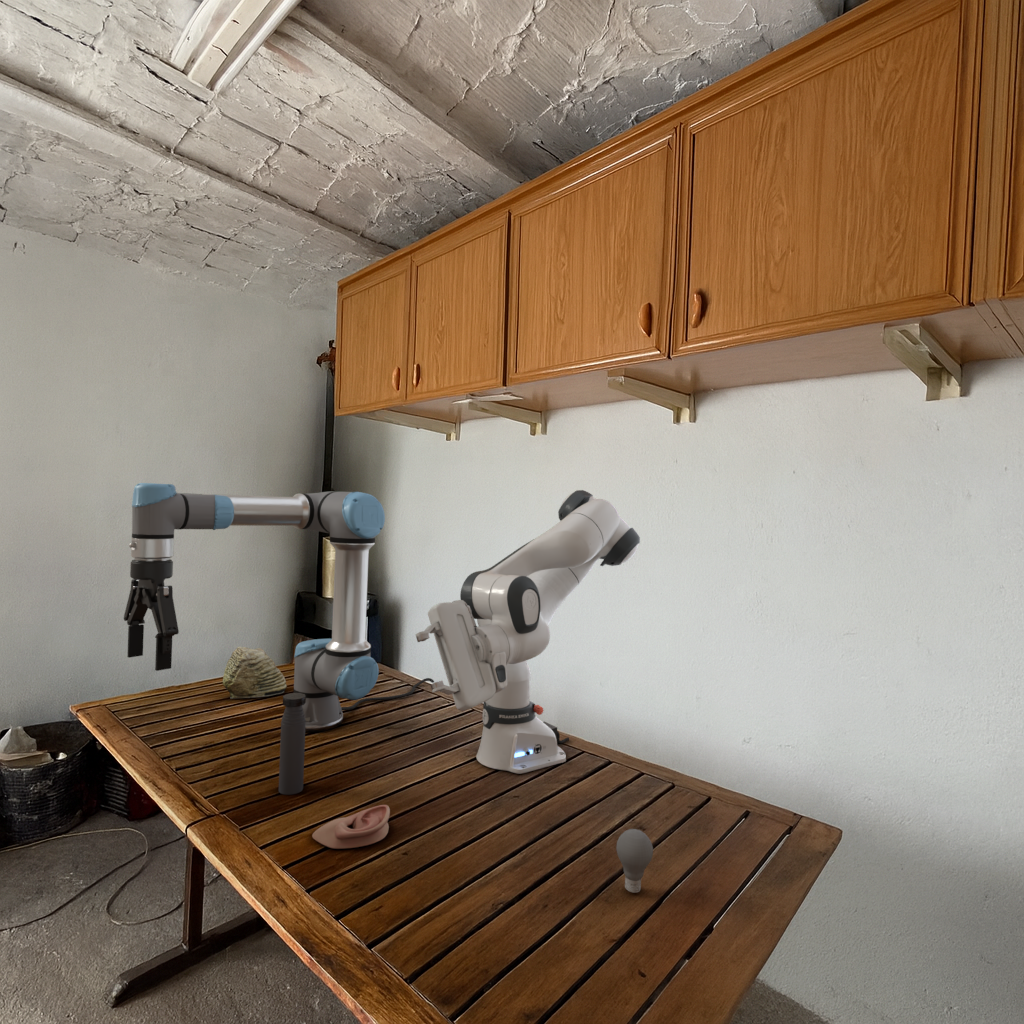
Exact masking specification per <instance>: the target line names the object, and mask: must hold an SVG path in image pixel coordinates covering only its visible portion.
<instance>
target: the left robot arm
mask: <svg viewBox="0 0 1024 1024" xmlns="http://www.w3.org/2000/svg"><path fill="white" fill-rule="evenodd" d="M385 515H386V513H385V511H384V508H383V505H382V503H381V502H380V501H379V500H378V498H377V497H375V495H373V494H370V493H367V492H363V491H362V492H361V491H337V490H336V491H335V490H333V491H332V490H330V491H321V492H311V493H295V494H294V495H293V496H276V495H275V496H274V495H273V496H272V495H248V494H247V495H246V494H244V495H243V494H220V493H219V494H218V493H217V494H216V493H215V494H214V493H189V492H187V493H186V492H177V491H176V486H175V485H174V484H173V483H152V482H139V483H137V484H136V485H135V486H134V488H133V492H132V501H131V520H132V521H131V542H130V543H128V547H129V548H130V549H131V550H130V556H131V558H133V559H132V560H131V561H130V567H129V568H130V571H129V574H130V575H129V576H130V578H131V581H130V590H129V594H128V598H127V603H126V607H125V610H124V615H123V621H124V622H126V624H127V626H128V629H127V630H128V631H127V658H135V657H142V656H144V635H145V634H144V630H145V625H144V624H145V623H146V621H145V619H144V618H145V616H146V615H147V612H148V609H149V610H151V613H152V618H153V620H154V624H155V627H156V631H157V633H156V635H155V636H154V638H155V661H154V663H155V665H154V668H155V669H154V670H155V671H157V672H159V671H164V670H169V669H172V659H173V657H172V655H173V637H175V636H176V635H179V632H180V631H179V625H178V619H177V615H176V614H177V613H176V609H175V603H174V597H173V595H174V593H173V585H165V580H167V579H171V578H172V577H173V575H174V573H173V572H174V561H173V560H172V559H171V558H173V557H174V554H175V553H174V552H175V530H213V531H215V530H224V529H228V528H230V526H233V527H234V526H237V527H238V526H240V527H243V526H246V527H247V526H249V527H250V526H258V527H259V526H268V527H269V526H276V527H277V526H282V527H284V526H285V527H286V526H287V527H288V526H289V527H290V526H291V527H293V528H294V529H296V530H308V531H309V530H310V531H316V532H319V533H325V534H329V544H330V545H331V546H332V547H333V548H334V550H335V551H334V572H333V573H334V577H333V599H332V625H331V626H332V627H331V638H317V639H308V640H304V641H300V642H299V643H297V645H296V646H295V650H294V655H293V657H294V672H293V673H294V674H293V693H302V694H305V695H306V696H305V697H306V703H305V704H304V705H302V708H303V711H304V714H305V720H306V725H305V733H316V732H325V731H329V730H332V729H335V728H337V727H339V726H340V725H342V723H343V722H344V713H343V711H351V710H353V709H355V708H356V707H358V706H359V705H360V704H362V703H366V702H371V701H372V702H374V701H375V702H376V701H390V700H396V699H401V698H406V697H408V696H410V695H412V694H414V693H415V691H416V688H418V687H419V686H420V685H422V684H423V683H426V682H430V683H431V684H433V683H435V680H434V679H433V678H431V677H425V678H423V679H422V680H420V681H419V682H417V683H416V684H414V685H413V686H412V688H411V690H410V691H407V692H405V693H402V694H396V695H389V696H374V697H366V698H364V697H365V696H367V695H368V694H370V692H371V690H372V689H374V687H375V685H376V683H377V682H378V678H379V674H380V672H379V671H380V670H379V669H380V668H379V665H378V663H377V662H376V660H375V659H374V657H371V652H372V649H371V648H372V644H371V643H370V642H368V640H367V639H366V631H367V607H368V606H367V605H368V604H367V602H368V582H369V581H368V579H369V555H370V553H369V552H370V550H371V548H372V547H374V545H375V544H376V536H378V535H379V534H380V533H381V530H383V528H384V526H385V522H386V521H385V520H386V516H385ZM339 698H341V699H342V700H343V699H344V700H348V701H349V700H350V701H355V703H354V704H353V705H351V706H341V702H340V699H339ZM357 700H358V701H357Z"/></svg>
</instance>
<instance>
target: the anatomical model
mask: <svg viewBox="0 0 1024 1024" xmlns="http://www.w3.org/2000/svg"><path fill="white" fill-rule="evenodd" d="M390 816H391V809H390V807H389V805H388V804H380V805H376V806H372V807H368V808H366V809H363V810H361V811H359V812H356V813H353V814H351V815H349V816H346V817H338V818H336V819H333V820H331V821H328V822H326V823H325V824H323V825H322V826H320V827H319V828H317V829H316V830H315V831H314V832H313V833H312V834H311V837H312V839H313V840H315V841H316V842H318V843H319V844H320V845H322V846H325V847H327V848H330V849H334V850H335V849H336V850H341V849H344V850H345V849H353V848H359V847H365V846H369V845H373V844H375V843H378V842H380V841H382V840H384V839H385V838H386V837H387V835H388V833H389V828H390V826H389V825H390V824H389V823H388V821H389V819H390Z"/></svg>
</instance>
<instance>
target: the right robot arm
mask: <svg viewBox="0 0 1024 1024" xmlns="http://www.w3.org/2000/svg"><path fill="white" fill-rule="evenodd" d="M557 511H558V513H557V514H558V519H559V522H557V523H556V524H555V525H553V526H552V527H551V528H549V529H547V530H545V532H543V533H541V534H540V535H538V536H536V537H535V538H533V539H532V540H530V541H528V542H526V543H524V544H523V545H521V546H520V547H519V548H517V549H515V550H514V551H513V552H511V553H509V554H508V555H507V556H506V557H504V558H502V559H501V560H500V561H497V563H495V564H494V565H492V566H490V567H489V568H487V569H483V570H478V571H473V572H472V573H470V574H469V575H468V576H467V577H466V578H465V580H464V581H463V583H462V586H461V589H460V597H459V599H457V600H453V601H451V602H450V601H448V602H447V601H446V602H438V603H436V604H435V605H433V606H431V607H430V608H429V610H428V612H427V616H428V620H429V623H430V625H428V626H427V627H426V628H425V629H424V630H422V631H419V632H416V634H415V638H416V641H417V643H420V642H426V641H427V640H429V639H430V634H433V637H434V639H435V642H436V646H437V649H438V652H439V656H440V659H441V663H442V666H443V668H444V673H445V675H446V678H447V682H448V685H446V684H444V681H443V680H439V681H436V682H435V681H434V682H433V683H431V684H430V689H431V692H432V693H433V694H434V693H437V692H440V693H442V694H445V695H448V696H449V695H452V698H453V702H454V705H455V708H456V710H458V711H461V712H465V711H468V710H470V709H473V708H475V707H477V706H479V705H483V706H482V732H481V738H480V741H479V747H478V750H477V752H476V755H475V756H476V761H477V762H478V763H479V764H481V765H483V766H485V767H487V768H490V769H494V770H499V771H507V772H510V773H514V774H518V775H519V774H520V775H521V774H522V775H523V774H526V773H529V772H532V771H537V770H541V769H544V768H548V767H551V766H555V765H559V764H563V763H566V761H567V755H566V752H565V751H564V750H563V748H561V747H560V746H558V744H559V745H564V744H565V743H566V742H569V741H570V737H565V738H563V739H560V738H561V736H560V735H561V734H560V732H559V731H558V726H555V725H553V724H551V723H550V722H549V723H548V722H546V721H542V720H541V719H540V718H538V716H541V715H542V714H543V713H544V711H545V709H544V707H543V706H541V705H540V704H536V703H535V702H532V701H531V698H530V697H531V678H532V673H531V668H530V665H529V664H528V661H529V660H531V659H533V658H536V657H537V656H539V655H541V654H542V653H543V652H544V651H545V650H546V649H547V648H548V646H549V644H550V641H551V631H550V624H551V621H552V620H553V617H554V616H555V614H556V612H557V611H558V609H559V608H560V607H561V605H562V604H563V603H564V602H565V601H566V600H567V599H568V598H569V596H570V595H571V594H572V593H573V592H574V591H575V590H576V589H577V587H579V585H581V583H582V582H583V581H584V580H585V578H586V577H587V576H588V574H589V573H590V572H591V570H592V569H593V568H594V566H595V564H596V563H597V561H598V560H602V561H601V562H600V564H599V567H604V566H605V565H607V566H611V567H614V566H620V565H622V564H624V563H626V562H628V561H629V560H631V559H632V558H633V557H634V555H635V554H636V553H637V550H638V548H639V545H640V544H641V543H640V542H641V537H640V535H639V534H638V532H637V531H636V530H635V529H634V527H630V525H629V524H628V522H626V521H625V520H624V519H623V518H622V517H621V516H620V513H619V512H618V510H617V508H616V507H615V505H614V504H613V503H612V502H610V501H608V500H606V499H604V498H596V497H594V495H593V494H592V493H590V492H589V491H586V490H583V489H580V490H579V489H577V490H574V491H573V492H572V493H570V494H568V495H567V496H566V497H565V498H564V499H563V501H562V503H561V504H560V507H559V509H558V510H557ZM476 622H477V623H476ZM537 715H538V716H537Z"/></svg>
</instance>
